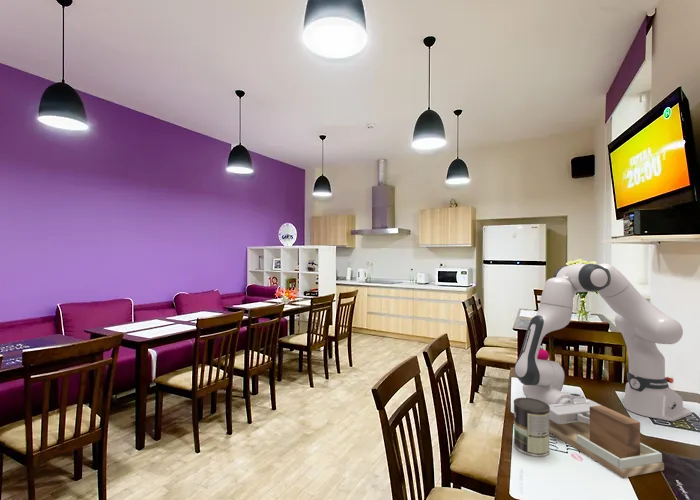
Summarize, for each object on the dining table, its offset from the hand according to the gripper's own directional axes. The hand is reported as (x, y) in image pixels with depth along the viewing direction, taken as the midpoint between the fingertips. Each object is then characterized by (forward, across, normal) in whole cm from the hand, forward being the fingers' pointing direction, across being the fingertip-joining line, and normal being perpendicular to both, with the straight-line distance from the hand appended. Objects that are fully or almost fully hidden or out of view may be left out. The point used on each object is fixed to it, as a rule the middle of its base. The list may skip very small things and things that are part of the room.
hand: (596, 422), depth 116 cm
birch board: (0, 0, +8) cm, 8 cm away
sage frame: (+7, 0, +6) cm, 9 cm away
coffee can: (-4, -21, +8) cm, 23 cm away
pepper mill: (-44, +19, +8) cm, 49 cm away
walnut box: (+6, 0, +6) cm, 8 cm away
